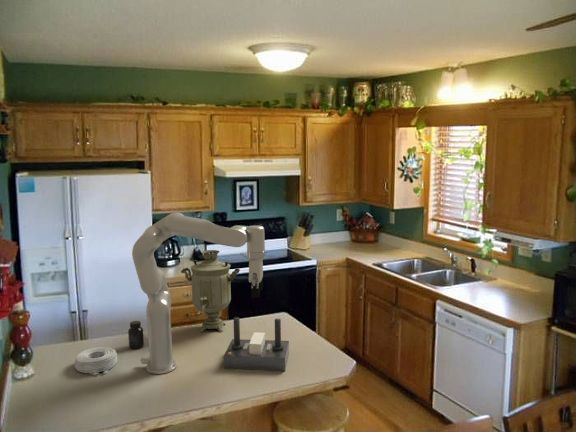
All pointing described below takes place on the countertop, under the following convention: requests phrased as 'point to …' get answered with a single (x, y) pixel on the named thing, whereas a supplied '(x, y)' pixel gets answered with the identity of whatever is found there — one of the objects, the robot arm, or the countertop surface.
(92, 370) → the cable
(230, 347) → the gray switch control box
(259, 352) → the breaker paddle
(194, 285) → the samovar
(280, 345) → the black toggle lever
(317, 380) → the countertop surface
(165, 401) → the countertop surface
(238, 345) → the dark grey upright post
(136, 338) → the supplement bottle
